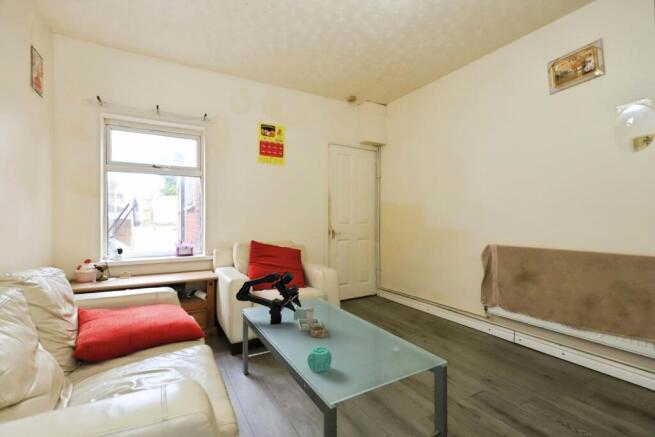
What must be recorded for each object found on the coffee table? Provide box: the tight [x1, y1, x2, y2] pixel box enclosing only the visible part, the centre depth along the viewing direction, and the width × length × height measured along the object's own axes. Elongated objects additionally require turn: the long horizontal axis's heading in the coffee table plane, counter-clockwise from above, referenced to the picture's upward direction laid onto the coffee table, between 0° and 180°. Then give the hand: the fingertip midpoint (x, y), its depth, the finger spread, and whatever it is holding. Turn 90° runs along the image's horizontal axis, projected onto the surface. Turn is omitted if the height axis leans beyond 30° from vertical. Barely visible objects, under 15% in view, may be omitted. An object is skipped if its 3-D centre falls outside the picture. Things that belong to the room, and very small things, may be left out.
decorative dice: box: [306, 346, 333, 373], centre depth 130 cm, size 8×8×8 cm
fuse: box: [305, 306, 315, 327], centre depth 177 cm, size 4×4×11 cm
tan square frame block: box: [309, 324, 328, 338], centre depth 165 cm, size 8×8×4 cm
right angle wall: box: [293, 304, 307, 320], centre depth 196 cm, size 12×12×8 cm
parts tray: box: [296, 317, 323, 332], centre depth 177 cm, size 14×14×3 cm
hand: (298, 309), depth 179 cm, fingers open, 9 cm apart
